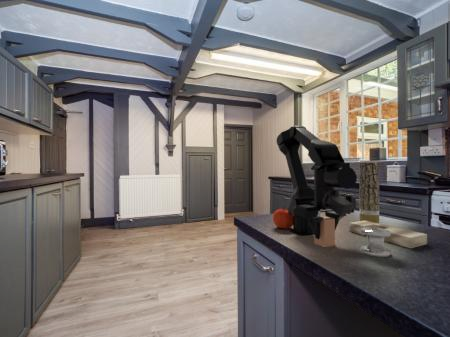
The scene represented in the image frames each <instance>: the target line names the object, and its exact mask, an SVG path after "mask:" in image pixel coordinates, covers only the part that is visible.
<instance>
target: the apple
mask: <svg viewBox="0 0 450 337" xmlns="http://www.w3.org/2000/svg"><path fill="white" fill-rule="evenodd" d="M272 221H273V224H274V225H275V226H276V227H277V228H279V229H285V230H288V229H290V228H293V216H292V215H289V213H288V209H285V207H284V206H282V208H279V209H277V210H275V211H274V212H273V215H272Z"/></svg>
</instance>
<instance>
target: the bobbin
mask: <svg viewBox="0 0 450 337" xmlns="http://www.w3.org/2000/svg"><path fill="white" fill-rule="evenodd" d="M361 233H362V234H365V236H366V245H361V246H360V252H361V253H362V254H364V255H367V256H371V257H375V258H389V257H391V256H392V251H391V250H390V249H389V248H386V247H385V241H384V237H390V236H391V232H390V231H389V230H386V229H381V228H374V227H364V228H361Z"/></svg>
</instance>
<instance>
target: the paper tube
mask: <svg viewBox="0 0 450 337" xmlns="http://www.w3.org/2000/svg"><path fill="white" fill-rule="evenodd" d="M358 165H359V168H358V170H359V171H358V172H359V176H358V178H359V181H358V182H359V185H358V186H359V190H358V192H359V194H358V195H359V204H358V205H359V221H369V222H374V223H378V224H380V161H378V160H360V161H359V164H358Z"/></svg>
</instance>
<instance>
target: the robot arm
mask: <svg viewBox="0 0 450 337" xmlns="http://www.w3.org/2000/svg"><path fill="white" fill-rule="evenodd" d="M276 145H277V147H278V149H279V151H280V152H281V154H283V155H284V156H285V159H286V163H287V168H288V170H289V175H290V179H291V183H292V186H293V187H292V188H293V191H292V194H291V202H290V203H289V205H288V207H287V210H288V213H289V215H292V216H293V226H292V228H291V229H290V228H289V232H290V233H291V232H292V233H295V234H297V235H300V236H306V235H312V234H313V235H314V238H315V237H316V239H319V238H320V222H321V221H322V220H323V218H324V217H321V213H324V216H326V217H330V218H335V231H336V229H337V227H338V224H339V222H340V220H341V219H342V218H344V217H347V215H350V214H352V213H355V209H356V208H357V198H356V196H354V195H352V194H351V195H346V196H341V195H340V191H339V189H346V190H349V189H352V188H353V187H354V186H355V185H356V183H357V180H358V176H357V174H356V172H355V169H353V168H352V167H351V166H350V165H351V163H350V162H346V161H345V159H344V157H343V156H342V154H341V152H340V149H339V147H338V145H337V144H335V143H332V142H330V141H327V140H322V139H320V138H318V137H317V136H316V135H315V134H313V133H312V132H311V131H309V130H308V129H307V128H306V127H305V126H304V125H293V126H290V128H288V129H286V130H284V131H282V132H280V133H279V134H278V136H277V137H276ZM301 145H302V147H304V148H305V149H306V151H308V153H307V156H308V158H309V159H310V160H311V161H312V163H314V165H312V166H311V167H310V170H311V171H313V183H314V184H313V187H310V186H309V184H308V182H307V178H306V174H305V172H304V171H305V170H304V168H303V164H302V161H301V157H300V153H299V151H300V150H299V149H300V147H301ZM337 188H338V189H337Z"/></svg>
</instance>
